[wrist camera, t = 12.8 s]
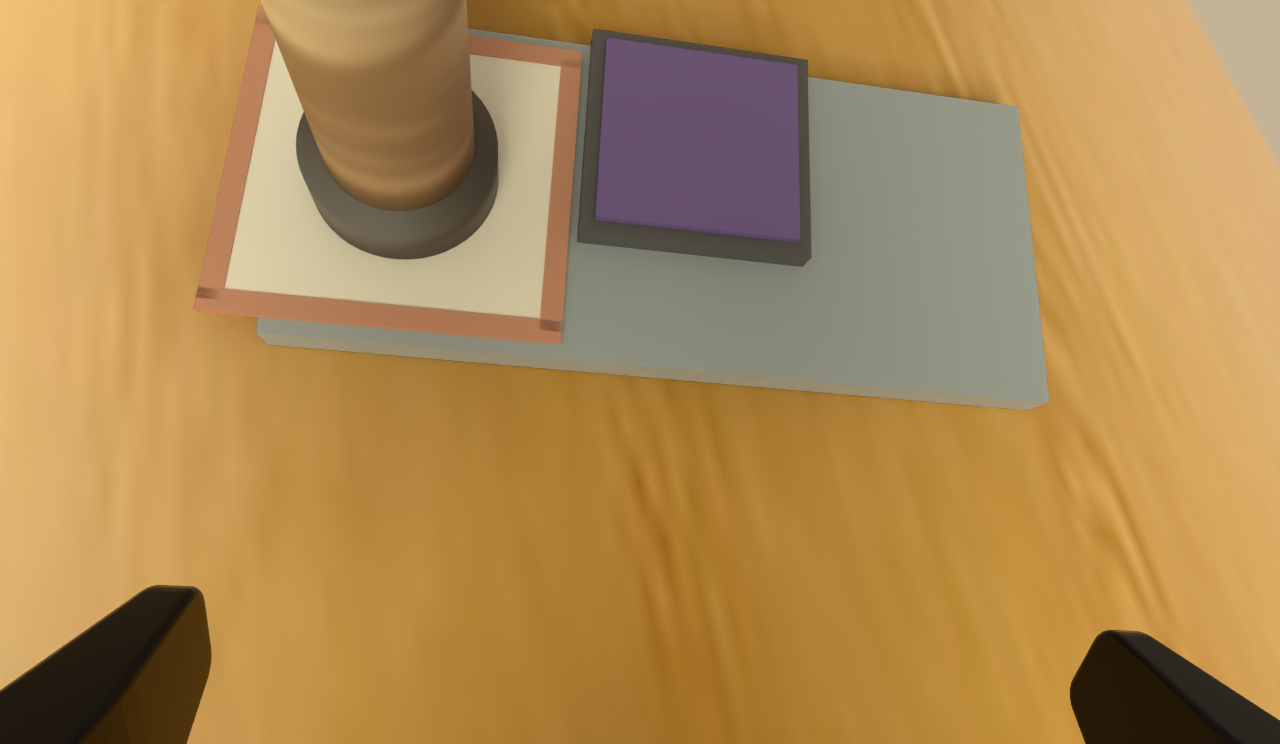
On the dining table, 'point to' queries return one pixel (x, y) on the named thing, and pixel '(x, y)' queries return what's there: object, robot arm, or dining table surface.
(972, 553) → the dining table surface
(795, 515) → the dining table surface
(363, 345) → the stamp board
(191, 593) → the robot arm
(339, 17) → the stamp
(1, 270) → the dining table surface
